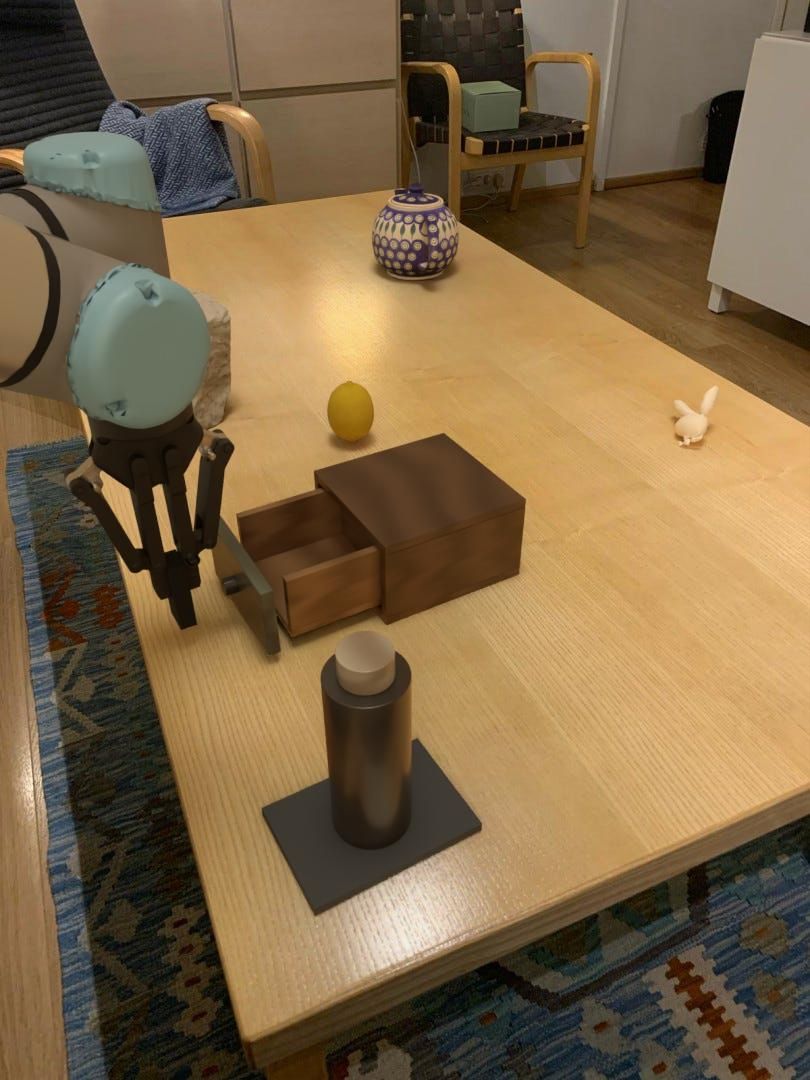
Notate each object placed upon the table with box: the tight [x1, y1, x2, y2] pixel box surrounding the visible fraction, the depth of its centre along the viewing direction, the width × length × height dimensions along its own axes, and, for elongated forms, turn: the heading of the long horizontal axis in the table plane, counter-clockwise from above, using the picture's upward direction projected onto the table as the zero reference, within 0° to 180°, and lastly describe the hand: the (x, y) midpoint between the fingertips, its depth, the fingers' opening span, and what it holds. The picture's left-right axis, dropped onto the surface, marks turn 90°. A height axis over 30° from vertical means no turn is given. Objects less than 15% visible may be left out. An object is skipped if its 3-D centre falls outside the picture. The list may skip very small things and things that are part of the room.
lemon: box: [326, 380, 375, 443], centre depth 104 cm, size 6×6×8 cm
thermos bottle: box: [320, 630, 413, 850], centre depth 57 cm, size 6×6×16 cm
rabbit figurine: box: [672, 385, 719, 447], centre depth 106 cm, size 6×4×8 cm
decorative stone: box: [182, 285, 232, 430], centre depth 108 cm, size 10×9×15 cm
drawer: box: [210, 487, 382, 657], centre depth 80 cm, size 15×13×7 cm
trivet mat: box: [260, 737, 483, 916], centre depth 62 cm, size 13×9×1 cm
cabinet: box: [313, 432, 527, 625], centre depth 85 cm, size 15×14×9 cm
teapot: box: [371, 182, 460, 281], centre depth 150 cm, size 25×15×15 cm, turn 11°
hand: (184, 618), depth 77 cm, fingers closed
